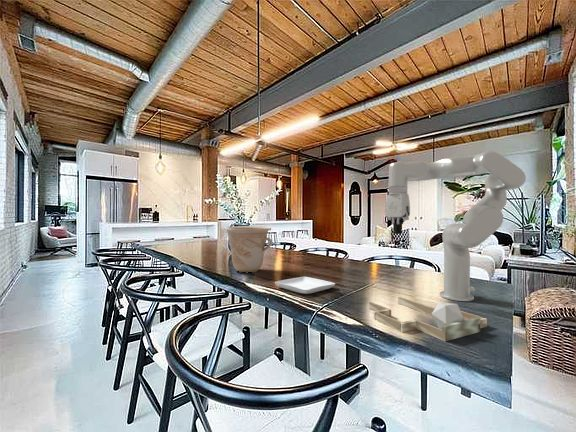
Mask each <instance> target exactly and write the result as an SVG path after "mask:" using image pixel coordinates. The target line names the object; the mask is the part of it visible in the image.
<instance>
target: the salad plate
mask: <svg viewBox="0 0 576 432" xmlns="http://www.w3.org/2000/svg"><path fill="white" fill-rule="evenodd" d="M274 283H275V285H276V286H277V287H279V288H282V289H285V290H288V291H291V292H295V293H298V294H303V295H309V294H313V293H319V292H322V291H325V290H329V289H331V288H333V287H334V286H335V285H336V282H332V281H329V280H328V281H327V280H323V279H319V278H314V277H309V276H300V277H292V278H287V279H283V280H282V279H281V280H277V281H275V282H274Z"/></svg>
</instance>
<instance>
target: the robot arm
mask: <svg viewBox="0 0 576 432" xmlns="http://www.w3.org/2000/svg"><path fill="white" fill-rule="evenodd" d="M487 173H489V174H487ZM483 174H487V176H486V178H485V180H484V187H485V194H484V196H483V197H482V198H481V199H480V200H478V201H477V202H476V204H474V205H473V206H471V208H469V209H468V210H467V211H466V212H465V214H464V215H463V218H462V221H463V223H450V224H449V225H447V226H446V227H444V229H443V230H442V234H441V236H442V244H443V254H444V255H443V257H444V260H443V290H442V291H440V292H439V296H440V297H441V298H444V299H447V300H451V301H457V302H472V301H474V300H475V297H474V295H472V294H471V292H475V291H476V290H475V289H476V288H475V287H474V286H470V285H471V284H470V283H471V282H470V281H471V269H470V268H471V254H470V249H472V248H476V247H478V246H480V245H481V244H482V243H483V242H485V241H486V240H487V239H488V238H489V237H491V236H492V235H493V234H494V233H495V232H496V231H497V230H499V228H500V227H501V226H502V224H503V221H504V213H503V212H502V210H503V209H504V208H505V206H506V205H507V203H508V202H507V201H508V200H507V191H510V190H516V189H518V188H521V187H522V186H523V185H524V184H525V182H526V179H527V176H526V174H525V172H524V171H523V169H522V168H520V167H519V166H518V165H517V164H515V163H513V162H512V161H510V160H509V159H507V158H506V157H504V156H503V155H501V154H500V153H498V152H495V151H492V150H486V151H484V152H481V153H478V154H472V155H462V156H453V157H452V156H451V157H446V158H443V159H440V160H436V161H431V162H428V163H426V162H424V161H421V160H416V161H409V162H404V161H395V162H392V163H390V164H389V166H388V190H387V193H388V194H387V196H386V201H385V211H384V213H385V217H387V220H388V221H391V222H392V223H391V224H392V225H393V234H394V235H395V234H396V235H401V234H403V224H404V223H405V221H408V220H410V219H409V218H410V214H411V205H410V204H411V203H410V197H409V196H410V195H409V193H408V182H420V181H431V180H437V179H438V180H439V179H449V178H458V177H469V176H477V175H483Z"/></svg>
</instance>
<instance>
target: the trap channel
mask: <svg viewBox="0 0 576 432" xmlns="http://www.w3.org/2000/svg"><path fill="white" fill-rule="evenodd" d="M397 298H398V299H397V304H398V305H401V306H402V307H403V306H404V307H406V308H409V309H411V310H413V311H414V310H415V311H418V312H421V313H422V314H425V315H430V316H432V312H433V311H434V309H435V308H436V307H435V308H434V307H431V306H428V305H425V304H421V303H419V302H418V301H415V300H414V301H413V300H411V299H407V298H405V297H401V296H398V297H397ZM370 309H371V311H373V320H374V319H375V321H376V320H377V322H379V323H381V324H383V325H386V326H387V327H388V328H392V329H394V330H396V331H398V332H400V333H406V332H409V331H414V330H418V331H420V332H422V333H425V334H427V335H429V336H431V337H434V338H436V339H438V340H440V341H444V342H448V341H453V340H455V339H460V338H462V337H466V336H470V335H473V334H477V333H480V332H481V329H483V328H487V325H488V319H487V318H486V317H482V316H479V315H476V314H472V313H469V312H466V311H463V310H460V311H461V313H462V315H463V317H464V319H465V320H464V321H460V322H455V323H451V324H447V325H443V326H442V329H439V328H438V326H433V325H432V324H430V323H429V324H428V323H426V322H425V321H421V320H419V319H410V320H407V321H401V320H398V319H395V318H393V317H392V309H390V308H387V307H385V306H383V305H380V304H378V303H375V302H372V301H368V310H370ZM432 317H433V316H432Z"/></svg>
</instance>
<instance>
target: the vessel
mask: <svg viewBox="0 0 576 432" xmlns="http://www.w3.org/2000/svg"><path fill="white" fill-rule="evenodd" d="M224 230H225V231H226V233H227V237H228V240H229V243H228V245H229V248H230V254H231V262H232V265H233V266H232V267H233V268H234V270H237V272H238V271H239V272H238V273H241V272H246V273H245V274H248V272H252V273H256V272H258V271H259V269H260V268H261V267H262V265H263V263H264V262H263V261H264V254H265V252H266V251H267V250H268V249H269V248H271V247H272V245H273V239H272V238H270V237H268V232H269V231H271V230H272V227H270V226H266V225H265V226H262V225H236V226H235V225H234V226H224ZM266 241H267V242H268V244H267V245H266ZM265 245H266V246H265Z"/></svg>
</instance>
